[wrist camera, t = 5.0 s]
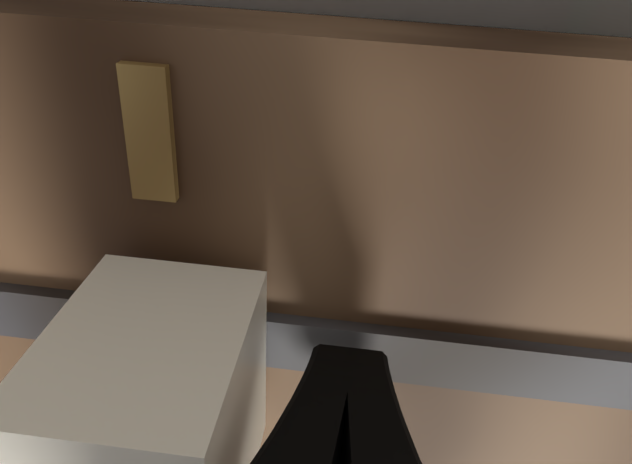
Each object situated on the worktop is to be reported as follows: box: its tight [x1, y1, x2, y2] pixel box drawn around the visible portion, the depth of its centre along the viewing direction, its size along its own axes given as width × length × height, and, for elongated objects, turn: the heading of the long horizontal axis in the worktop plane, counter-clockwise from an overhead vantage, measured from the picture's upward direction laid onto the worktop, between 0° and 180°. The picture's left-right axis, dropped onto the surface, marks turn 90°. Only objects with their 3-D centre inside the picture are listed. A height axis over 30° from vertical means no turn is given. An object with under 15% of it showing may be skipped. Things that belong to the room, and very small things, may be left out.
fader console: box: [0, 0, 632, 464], centre depth 12 cm, size 22×12×2 cm, turn 87°
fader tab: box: [0, 254, 267, 464], centre depth 10 cm, size 3×4×4 cm
